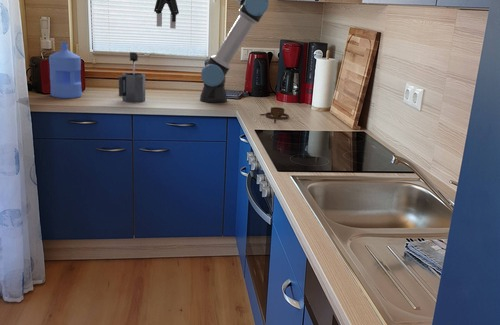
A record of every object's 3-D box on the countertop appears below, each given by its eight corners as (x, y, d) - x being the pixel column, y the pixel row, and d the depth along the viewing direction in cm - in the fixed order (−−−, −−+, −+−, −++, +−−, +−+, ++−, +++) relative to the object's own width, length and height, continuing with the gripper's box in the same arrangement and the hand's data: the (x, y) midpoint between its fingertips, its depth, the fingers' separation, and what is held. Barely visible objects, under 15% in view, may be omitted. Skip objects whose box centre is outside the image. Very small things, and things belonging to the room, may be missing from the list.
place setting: (298, 119, 255) (299, 108, 253) (276, 125, 239) (277, 113, 237) (269, 113, 264) (270, 102, 263) (246, 118, 248) (247, 106, 247)
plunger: (137, 90, 274) (137, 51, 268) (144, 92, 268) (144, 53, 262) (123, 90, 269) (123, 51, 263) (130, 93, 263) (130, 53, 257)
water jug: (45, 94, 270) (42, 40, 261) (72, 92, 281) (70, 40, 273) (60, 99, 260) (58, 43, 252) (87, 97, 272) (86, 43, 263)
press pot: (138, 98, 278) (138, 72, 273) (148, 102, 270) (148, 75, 265) (114, 99, 269) (114, 73, 265) (124, 103, 261) (124, 76, 257)
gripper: (147, -17, 262) (147, 25, 268) (173, -17, 244) (172, 29, 250) (160, -16, 267) (160, 25, 273) (186, -16, 249) (185, 29, 255)
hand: (165, 27), depth 262 cm, fingers open, 13 cm apart
